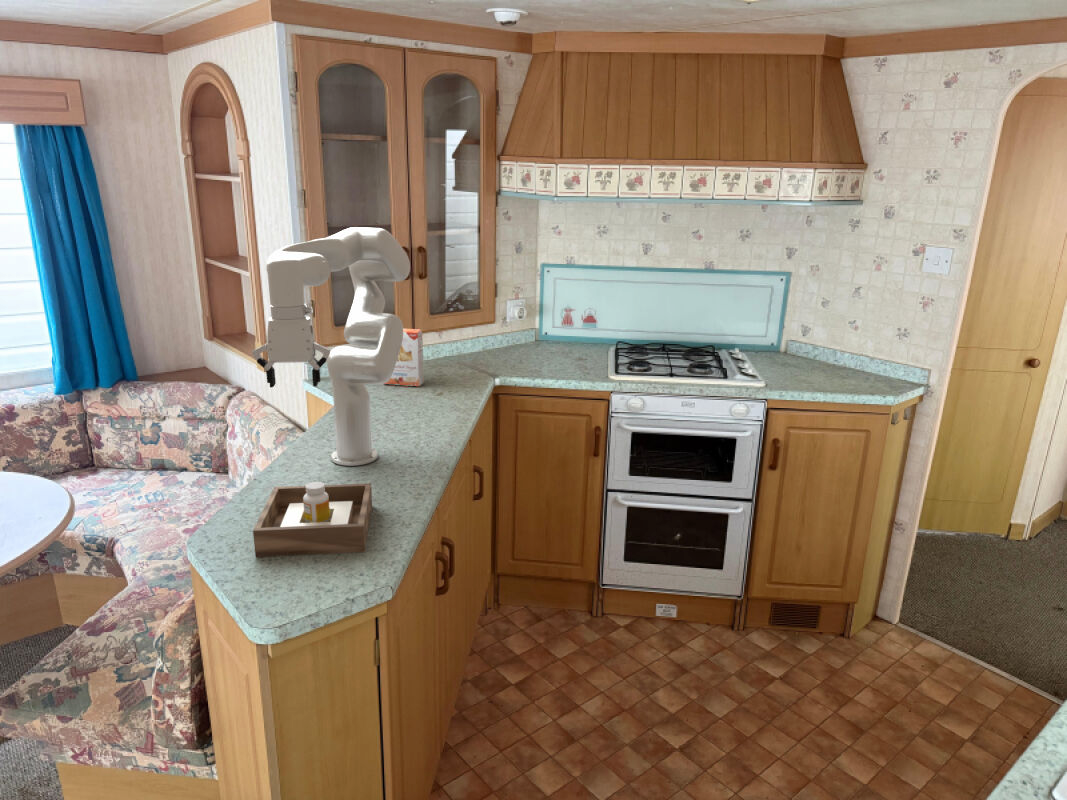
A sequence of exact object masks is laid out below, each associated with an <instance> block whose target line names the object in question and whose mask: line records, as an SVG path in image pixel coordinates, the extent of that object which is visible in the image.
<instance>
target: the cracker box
mask: <svg viewBox="0 0 1067 800" xmlns="http://www.w3.org/2000/svg"><path fill="white" fill-rule="evenodd" d="M403 330H404V333H403V340H402V344H401V348H400V351H399V354H398V358H397V361H396V364H395V368H394V371H393V374H392V376H391V378H390V380H389V381H388V382H387V383H384V384H400V385H413V386H419V385H420V384H421V383H422V382H423V383H424V349H423V347H424V346H423V345H424V344H423V343H424V342H423V329H417V328H416V329H415V328H404V327H403Z"/></svg>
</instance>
